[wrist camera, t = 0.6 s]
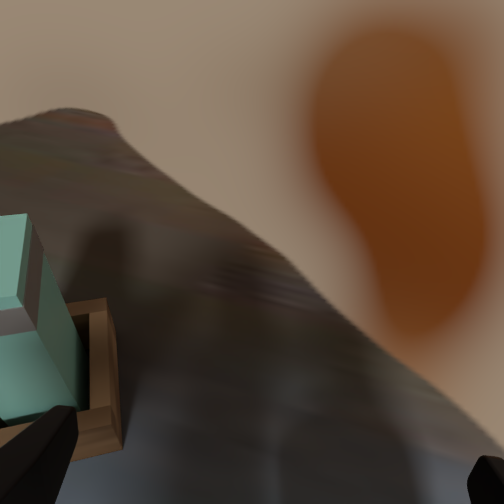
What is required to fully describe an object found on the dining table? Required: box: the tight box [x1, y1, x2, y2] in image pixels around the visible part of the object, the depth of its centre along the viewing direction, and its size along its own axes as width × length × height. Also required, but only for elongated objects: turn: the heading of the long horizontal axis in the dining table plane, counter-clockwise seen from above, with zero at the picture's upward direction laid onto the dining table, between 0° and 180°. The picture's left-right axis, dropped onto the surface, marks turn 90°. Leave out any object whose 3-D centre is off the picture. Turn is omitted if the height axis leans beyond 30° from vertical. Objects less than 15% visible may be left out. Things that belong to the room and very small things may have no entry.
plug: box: [0, 214, 89, 427], centre depth 20 cm, size 4×4×13 cm
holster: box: [0, 297, 123, 462], centre depth 24 cm, size 8×7×4 cm
